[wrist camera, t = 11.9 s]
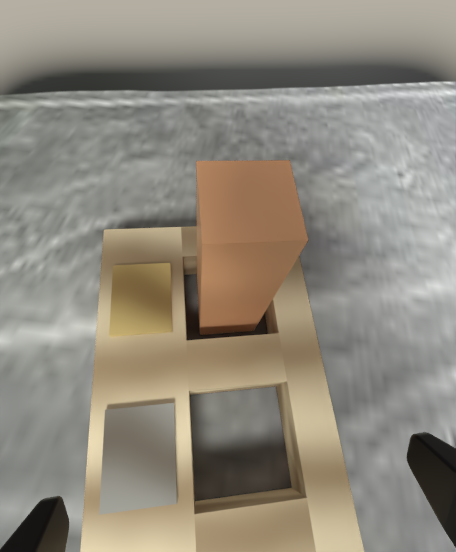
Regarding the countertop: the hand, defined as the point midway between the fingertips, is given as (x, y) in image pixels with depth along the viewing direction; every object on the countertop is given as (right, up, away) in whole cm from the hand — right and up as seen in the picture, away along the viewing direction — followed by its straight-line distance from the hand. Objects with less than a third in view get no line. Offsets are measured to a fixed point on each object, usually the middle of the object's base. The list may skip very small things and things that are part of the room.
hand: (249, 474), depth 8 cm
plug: (-1, +3, +16) cm, 16 cm away
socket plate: (-2, -2, +14) cm, 14 cm away
